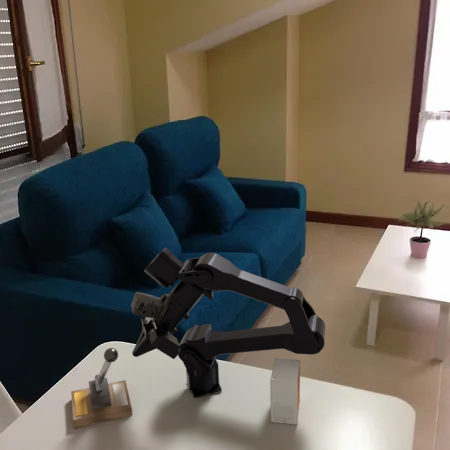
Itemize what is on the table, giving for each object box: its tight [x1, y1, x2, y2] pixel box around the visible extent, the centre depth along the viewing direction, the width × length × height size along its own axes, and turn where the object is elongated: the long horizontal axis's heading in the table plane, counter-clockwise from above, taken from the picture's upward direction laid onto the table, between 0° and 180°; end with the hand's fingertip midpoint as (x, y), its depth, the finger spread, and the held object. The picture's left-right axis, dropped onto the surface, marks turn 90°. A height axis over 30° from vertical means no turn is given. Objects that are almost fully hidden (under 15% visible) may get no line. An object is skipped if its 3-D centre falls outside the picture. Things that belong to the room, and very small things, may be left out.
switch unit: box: [70, 377, 133, 429], centre depth 117 cm, size 12×10×5 cm
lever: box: [94, 347, 119, 393], centre depth 115 cm, size 3×5×9 cm, turn 18°
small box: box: [269, 357, 301, 425], centre depth 112 cm, size 8×6×10 cm
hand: (133, 355), depth 116 cm, fingers closed
